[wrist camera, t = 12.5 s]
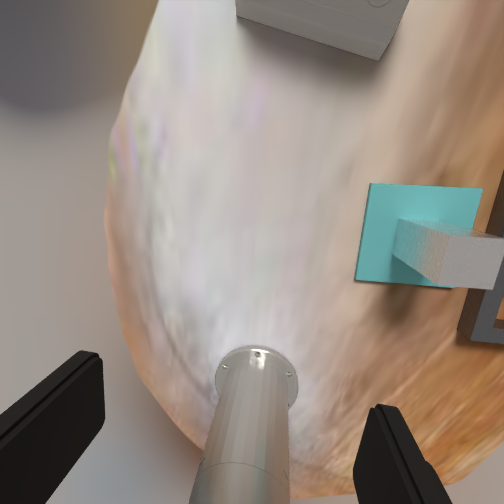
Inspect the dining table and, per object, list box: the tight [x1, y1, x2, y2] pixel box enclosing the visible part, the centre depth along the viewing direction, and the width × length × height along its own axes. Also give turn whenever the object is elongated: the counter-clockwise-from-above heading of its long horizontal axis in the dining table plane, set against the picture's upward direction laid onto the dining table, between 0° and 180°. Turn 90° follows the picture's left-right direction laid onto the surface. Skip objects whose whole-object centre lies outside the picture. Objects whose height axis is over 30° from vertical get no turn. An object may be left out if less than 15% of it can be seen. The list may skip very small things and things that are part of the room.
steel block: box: [392, 218, 504, 290], centre depth 26 cm, size 4×4×10 cm
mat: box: [355, 183, 483, 288], centre depth 32 cm, size 12×12×1 cm
